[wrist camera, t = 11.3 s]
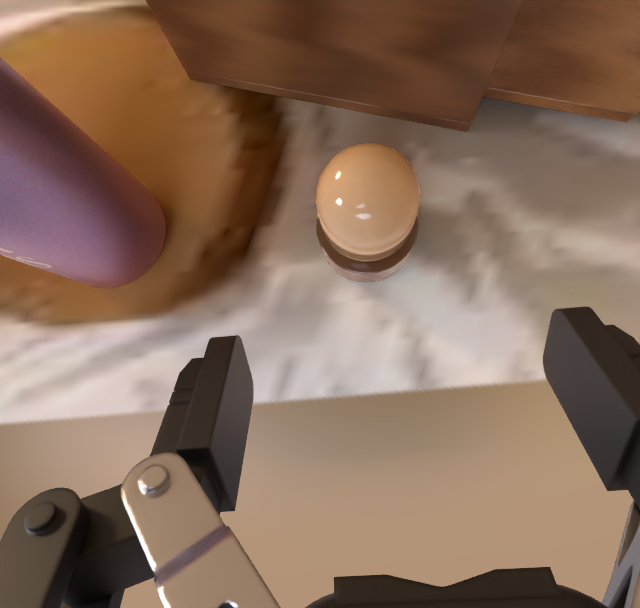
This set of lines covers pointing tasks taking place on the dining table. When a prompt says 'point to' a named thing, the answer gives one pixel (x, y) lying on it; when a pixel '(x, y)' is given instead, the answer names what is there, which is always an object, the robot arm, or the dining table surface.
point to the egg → (367, 211)
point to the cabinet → (347, 51)
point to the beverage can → (69, 196)
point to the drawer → (572, 58)
